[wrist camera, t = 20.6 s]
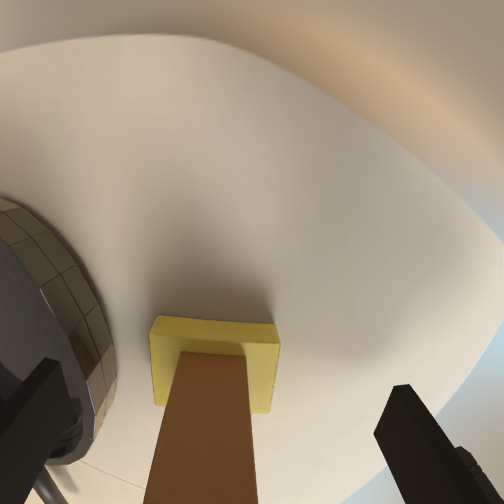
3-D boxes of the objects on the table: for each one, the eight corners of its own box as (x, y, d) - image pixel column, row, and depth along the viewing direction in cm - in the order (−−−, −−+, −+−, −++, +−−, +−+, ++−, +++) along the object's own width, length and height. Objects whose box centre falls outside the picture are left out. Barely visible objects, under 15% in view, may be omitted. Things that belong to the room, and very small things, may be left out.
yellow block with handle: (275, 323, 16) (329, 520, 5) (265, 391, 17) (293, 568, 6) (157, 314, 15) (73, 498, 4) (161, 383, 16) (115, 554, 6)
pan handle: (33, 433, 15) (21, 452, 13) (78, 510, 18) (72, 526, 15) (11, 424, 15) (-2, 442, 12) (58, 504, 17) (52, 519, 15)
